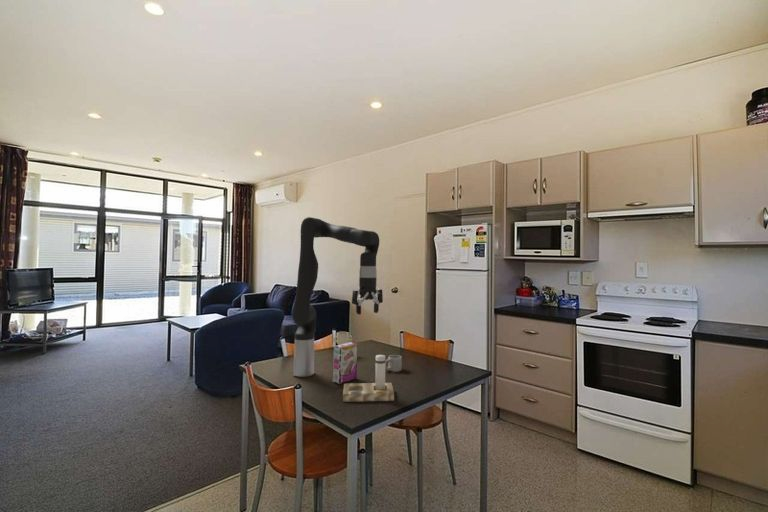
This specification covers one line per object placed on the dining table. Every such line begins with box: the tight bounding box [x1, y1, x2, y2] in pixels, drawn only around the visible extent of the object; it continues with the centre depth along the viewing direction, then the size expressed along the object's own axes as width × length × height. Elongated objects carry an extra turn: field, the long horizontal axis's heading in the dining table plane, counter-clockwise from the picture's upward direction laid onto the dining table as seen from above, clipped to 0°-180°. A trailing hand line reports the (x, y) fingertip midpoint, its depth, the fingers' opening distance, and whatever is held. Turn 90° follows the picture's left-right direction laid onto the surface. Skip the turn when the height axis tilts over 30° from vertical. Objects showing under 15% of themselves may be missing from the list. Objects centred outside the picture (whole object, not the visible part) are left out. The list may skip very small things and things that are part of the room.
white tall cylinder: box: [374, 354, 386, 390], centre depth 149 cm, size 4×4×16 cm
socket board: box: [342, 382, 395, 403], centre depth 148 cm, size 20×12×3 cm, turn 94°
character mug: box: [333, 331, 353, 345], centre depth 209 cm, size 11×7×13 cm, turn 110°
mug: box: [385, 354, 403, 373], centre depth 182 cm, size 10×7×7 cm, turn 126°
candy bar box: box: [332, 341, 358, 385], centre depth 167 cm, size 11×5×16 cm, turn 141°
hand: (367, 313), depth 159 cm, fingers open, 8 cm apart
